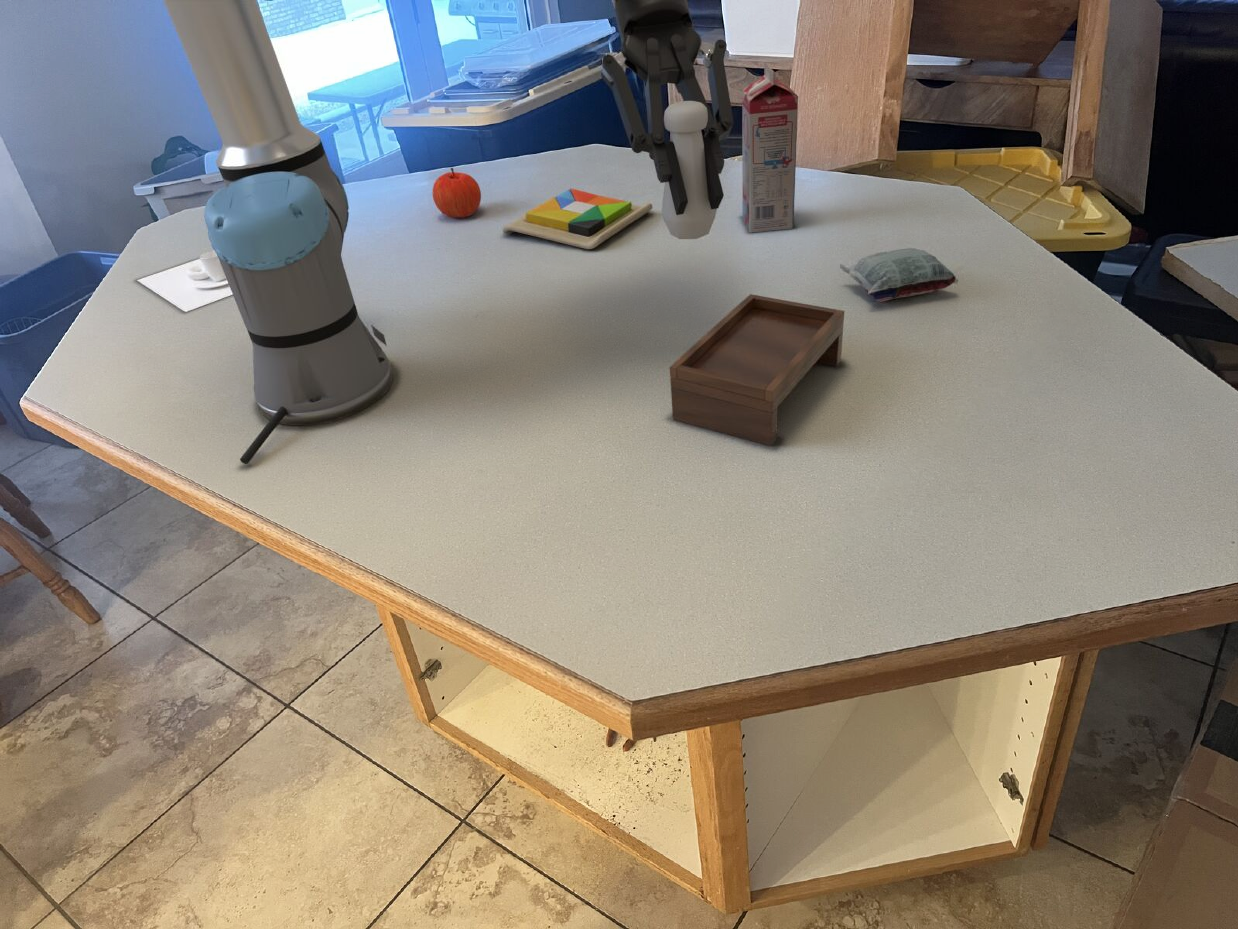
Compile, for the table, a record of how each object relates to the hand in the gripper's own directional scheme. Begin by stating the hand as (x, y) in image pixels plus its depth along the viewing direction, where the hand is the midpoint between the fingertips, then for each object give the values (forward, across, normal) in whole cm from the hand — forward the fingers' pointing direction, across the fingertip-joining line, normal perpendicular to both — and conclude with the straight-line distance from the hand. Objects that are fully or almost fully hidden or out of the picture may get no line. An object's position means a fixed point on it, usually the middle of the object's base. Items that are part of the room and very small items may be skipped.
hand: (699, 204), depth 82 cm
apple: (-33, +24, -59) cm, 71 cm away
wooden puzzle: (-23, +5, -49) cm, 54 cm away
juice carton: (-14, -22, -40) cm, 48 cm away
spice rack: (+18, -4, -7) cm, 20 cm away
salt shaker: (0, 0, -6) cm, 6 cm away
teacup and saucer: (-26, +62, -52) cm, 85 cm away
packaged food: (+7, -28, -19) cm, 35 cm away
